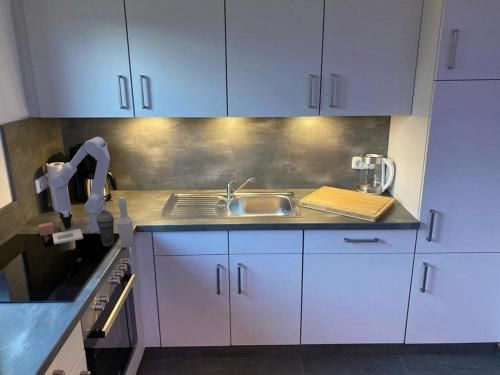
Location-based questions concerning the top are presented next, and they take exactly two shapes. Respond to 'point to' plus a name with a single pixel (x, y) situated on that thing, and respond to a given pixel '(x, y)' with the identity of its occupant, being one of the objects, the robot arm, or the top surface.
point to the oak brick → (64, 226)
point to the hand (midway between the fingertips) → (67, 226)
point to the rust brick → (46, 228)
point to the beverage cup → (106, 227)
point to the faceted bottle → (125, 225)
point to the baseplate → (67, 236)
